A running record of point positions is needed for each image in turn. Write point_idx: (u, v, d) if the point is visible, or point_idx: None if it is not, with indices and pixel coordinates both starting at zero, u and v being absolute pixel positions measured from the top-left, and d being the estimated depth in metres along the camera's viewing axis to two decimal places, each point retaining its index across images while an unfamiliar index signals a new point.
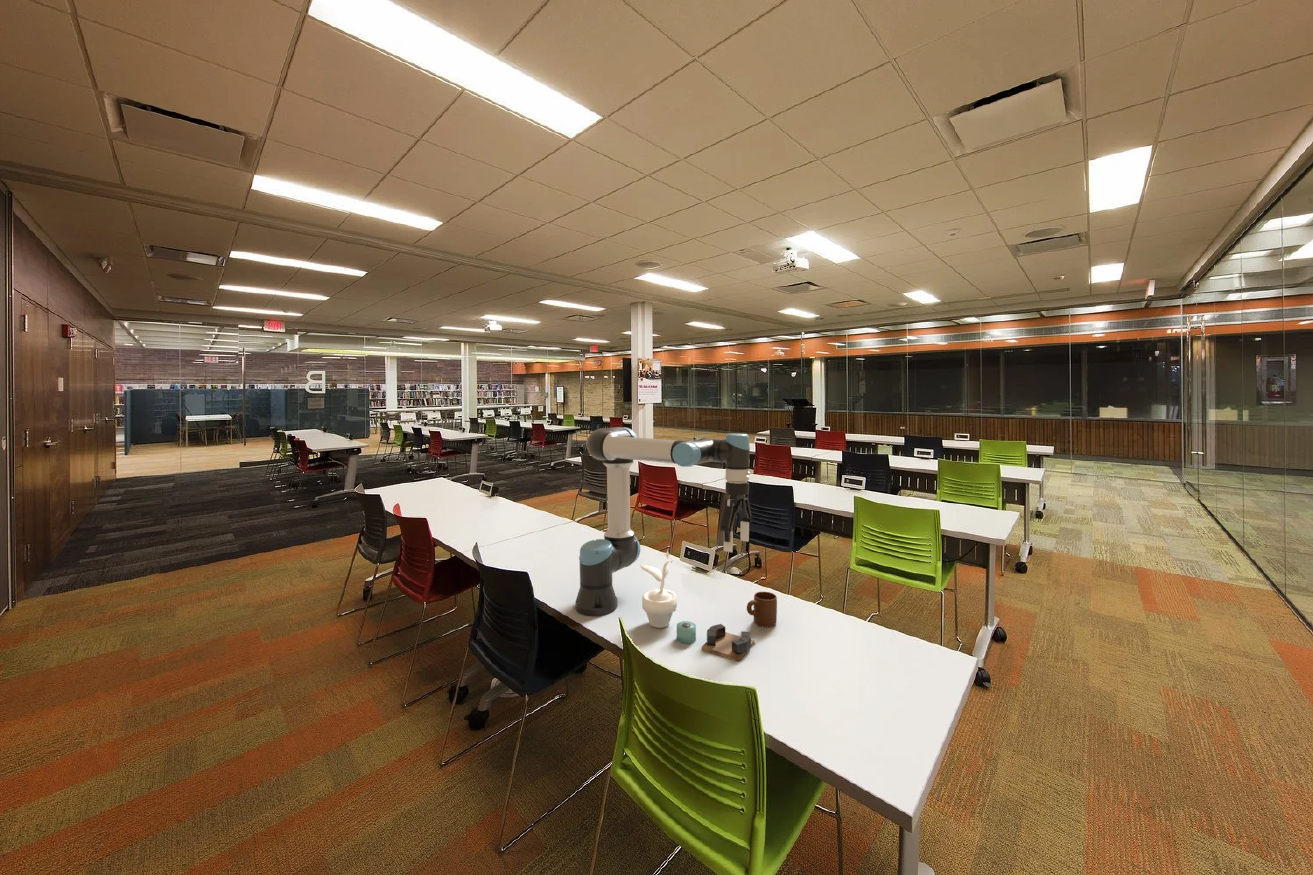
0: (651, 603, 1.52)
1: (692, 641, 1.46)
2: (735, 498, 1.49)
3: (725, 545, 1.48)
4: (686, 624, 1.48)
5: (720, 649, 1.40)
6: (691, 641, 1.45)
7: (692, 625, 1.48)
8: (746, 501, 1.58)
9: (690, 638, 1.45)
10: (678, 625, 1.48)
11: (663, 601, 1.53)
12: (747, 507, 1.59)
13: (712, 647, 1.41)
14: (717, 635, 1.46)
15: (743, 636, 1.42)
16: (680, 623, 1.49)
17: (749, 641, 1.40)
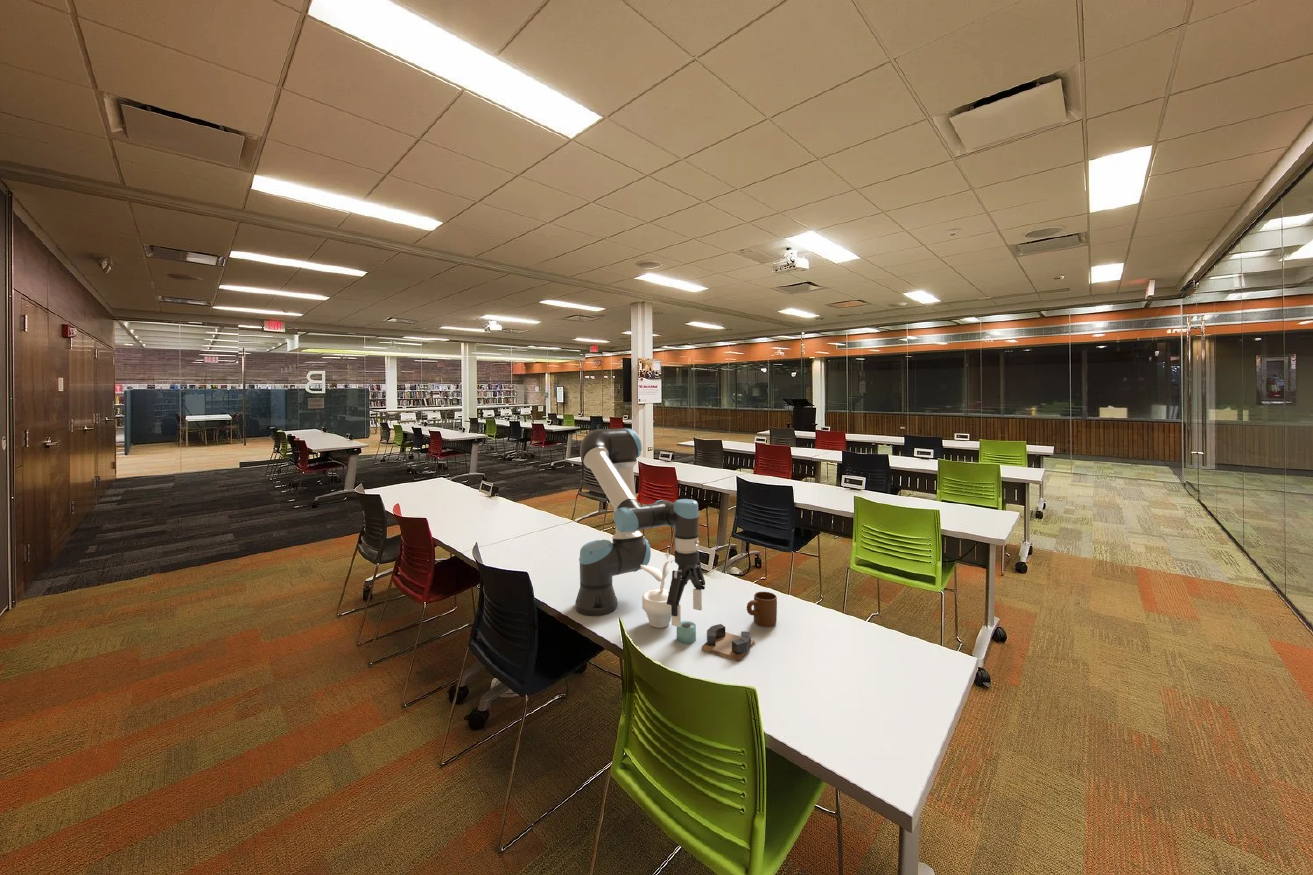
0: (651, 603, 1.52)
1: (692, 641, 1.46)
2: (683, 569, 1.43)
3: (673, 619, 1.41)
4: (686, 624, 1.48)
5: (720, 649, 1.40)
6: (691, 641, 1.45)
7: (692, 625, 1.48)
8: (698, 568, 1.51)
9: (690, 638, 1.45)
10: None
11: (663, 601, 1.53)
12: (699, 574, 1.52)
13: (712, 647, 1.41)
14: (717, 635, 1.46)
15: (743, 636, 1.42)
16: None
17: (749, 641, 1.40)
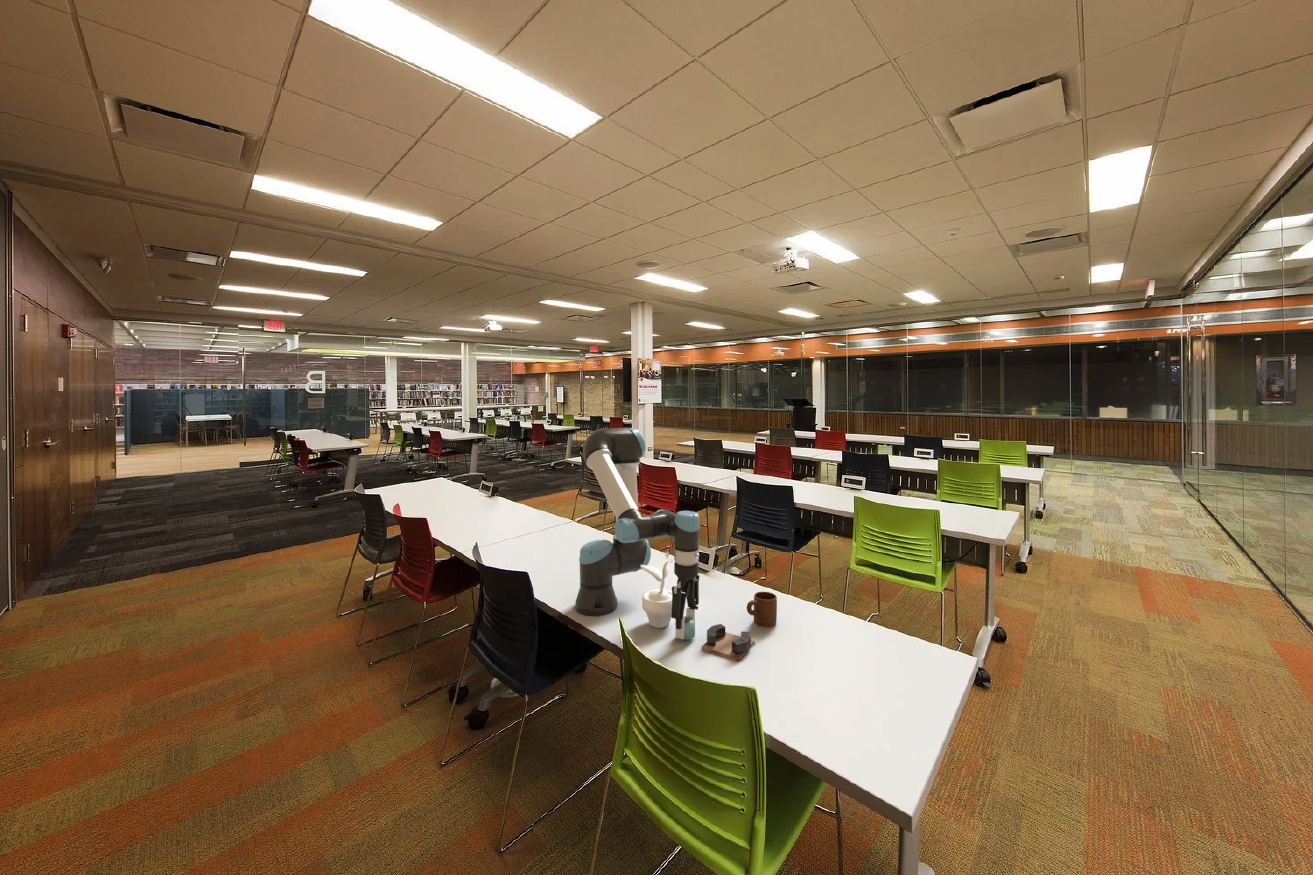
0: (651, 603, 1.52)
1: (691, 636, 1.46)
2: (682, 582, 1.43)
3: (677, 631, 1.45)
4: (685, 619, 1.48)
5: (720, 649, 1.40)
6: (691, 636, 1.46)
7: (691, 620, 1.48)
8: (696, 583, 1.51)
9: (689, 634, 1.45)
10: None
11: (663, 601, 1.53)
12: (695, 590, 1.51)
13: (712, 647, 1.41)
14: (717, 635, 1.46)
15: (743, 636, 1.42)
16: None
17: (749, 641, 1.40)
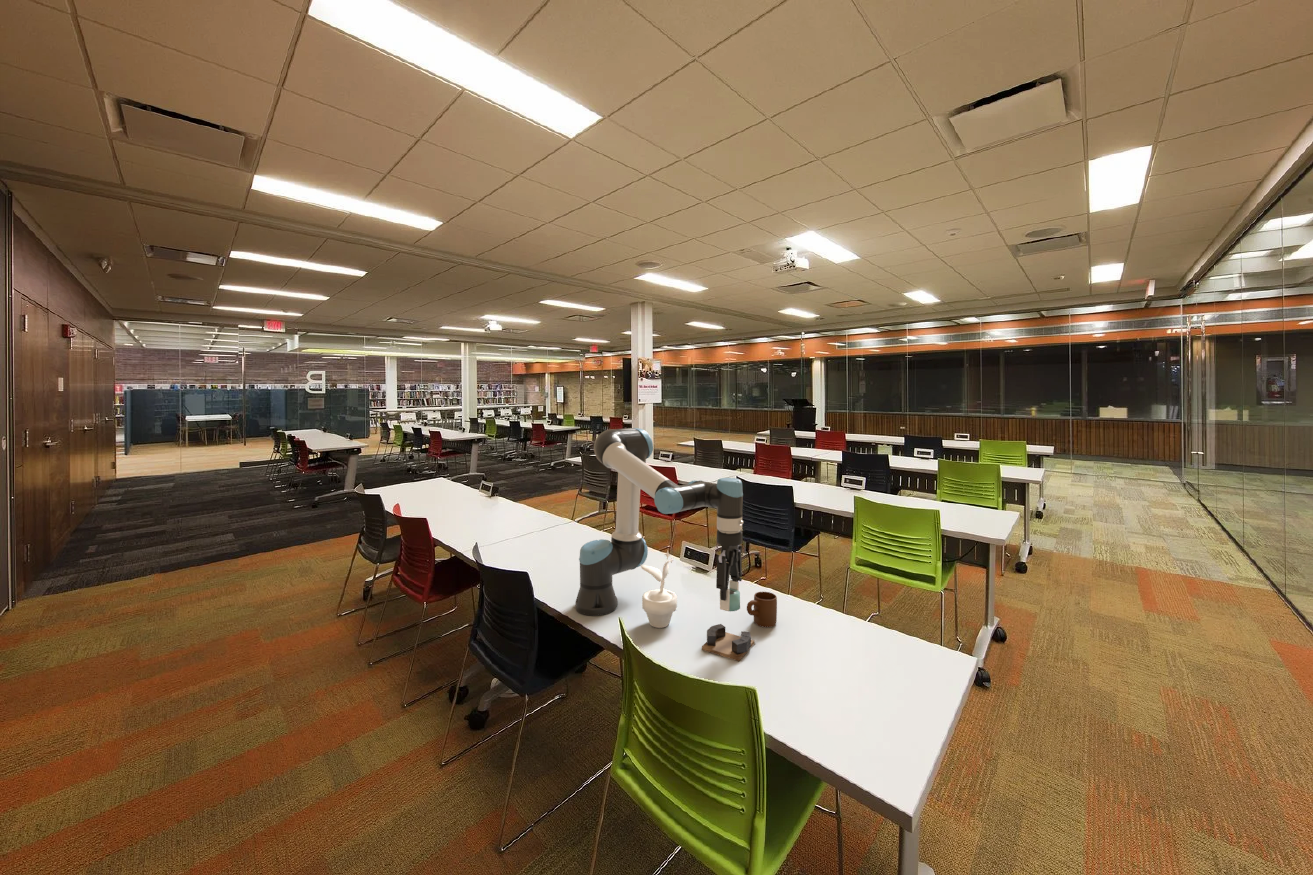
0: (651, 603, 1.52)
1: (737, 608, 1.40)
2: (727, 550, 1.37)
3: (721, 603, 1.40)
4: None
5: (720, 649, 1.40)
6: (736, 608, 1.40)
7: (736, 592, 1.42)
8: (738, 554, 1.45)
9: (734, 605, 1.39)
10: None
11: (663, 601, 1.53)
12: (738, 561, 1.46)
13: (712, 647, 1.41)
14: (717, 635, 1.46)
15: (743, 636, 1.42)
16: None
17: (749, 641, 1.40)
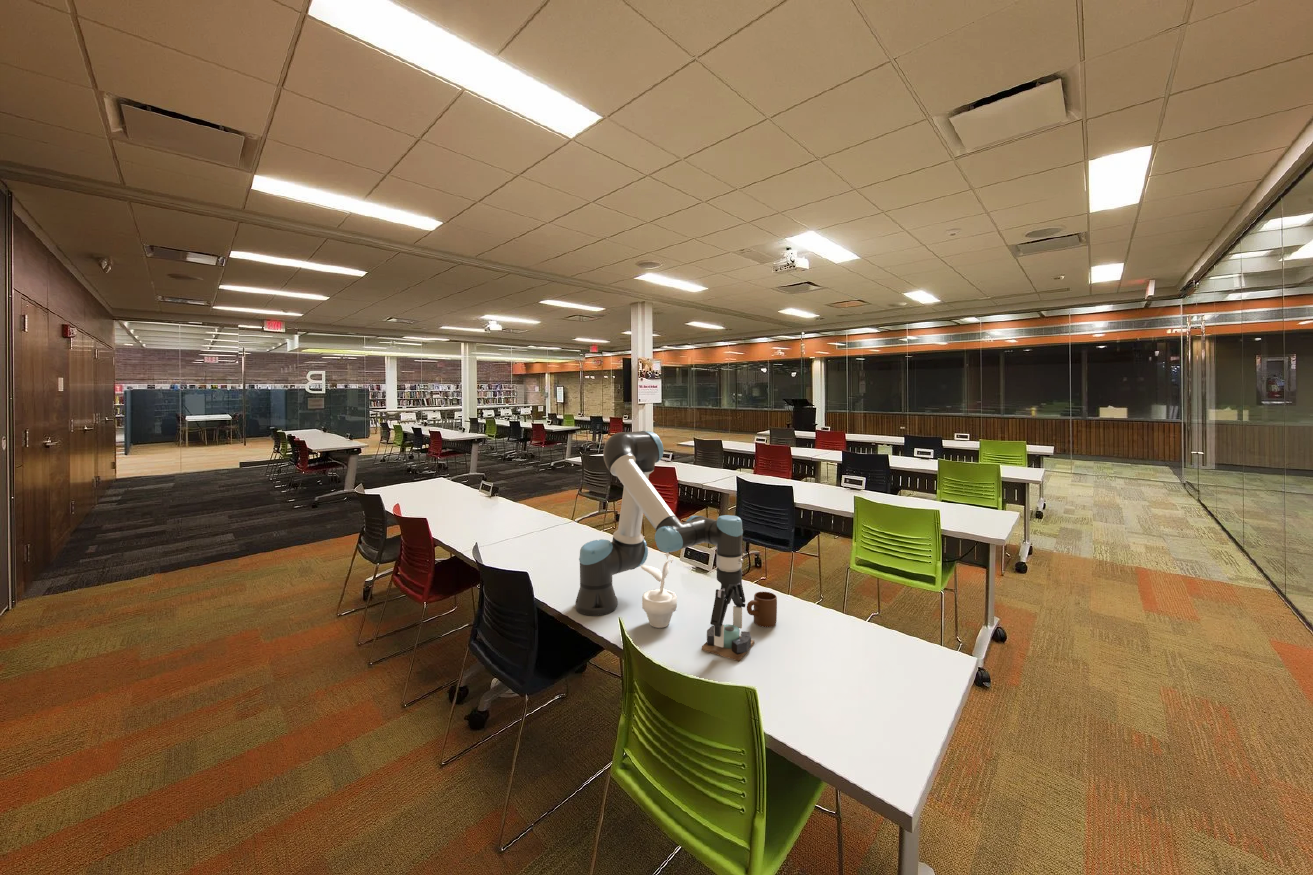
0: (651, 603, 1.52)
1: None
2: (727, 588, 1.39)
3: (715, 639, 1.37)
4: (729, 628, 1.43)
5: (720, 649, 1.40)
6: None
7: (735, 629, 1.43)
8: (739, 586, 1.47)
9: None
10: None
11: (663, 601, 1.53)
12: (740, 592, 1.48)
13: (712, 647, 1.41)
14: None
15: (743, 636, 1.42)
16: None
17: (749, 641, 1.40)
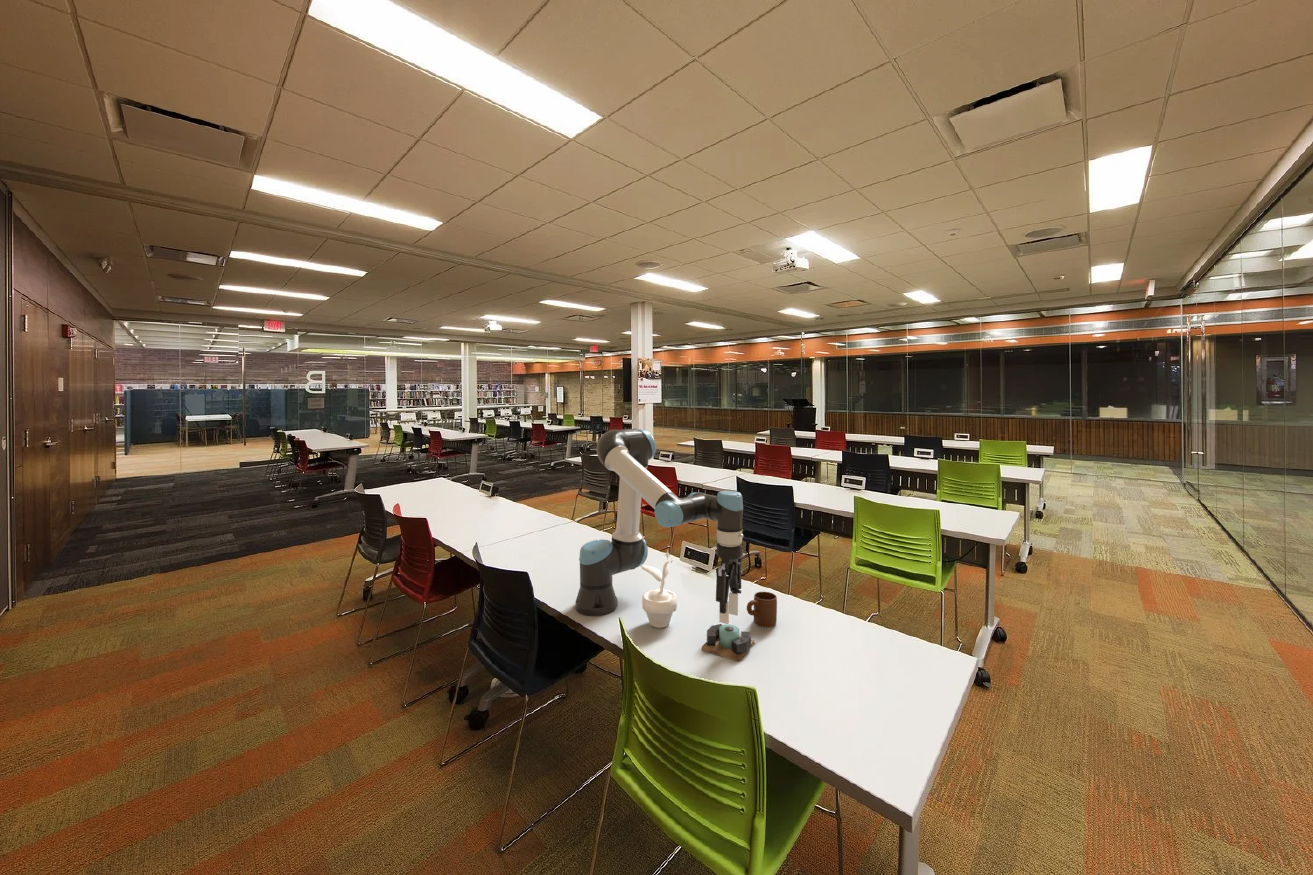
0: (651, 603, 1.52)
1: None
2: (726, 564, 1.38)
3: (721, 616, 1.40)
4: (729, 628, 1.43)
5: (720, 649, 1.40)
6: None
7: (735, 629, 1.43)
8: (738, 566, 1.46)
9: None
10: (721, 629, 1.43)
11: (663, 601, 1.53)
12: (738, 574, 1.46)
13: (712, 647, 1.41)
14: (717, 635, 1.46)
15: (743, 636, 1.42)
16: (722, 627, 1.44)
17: (749, 641, 1.40)
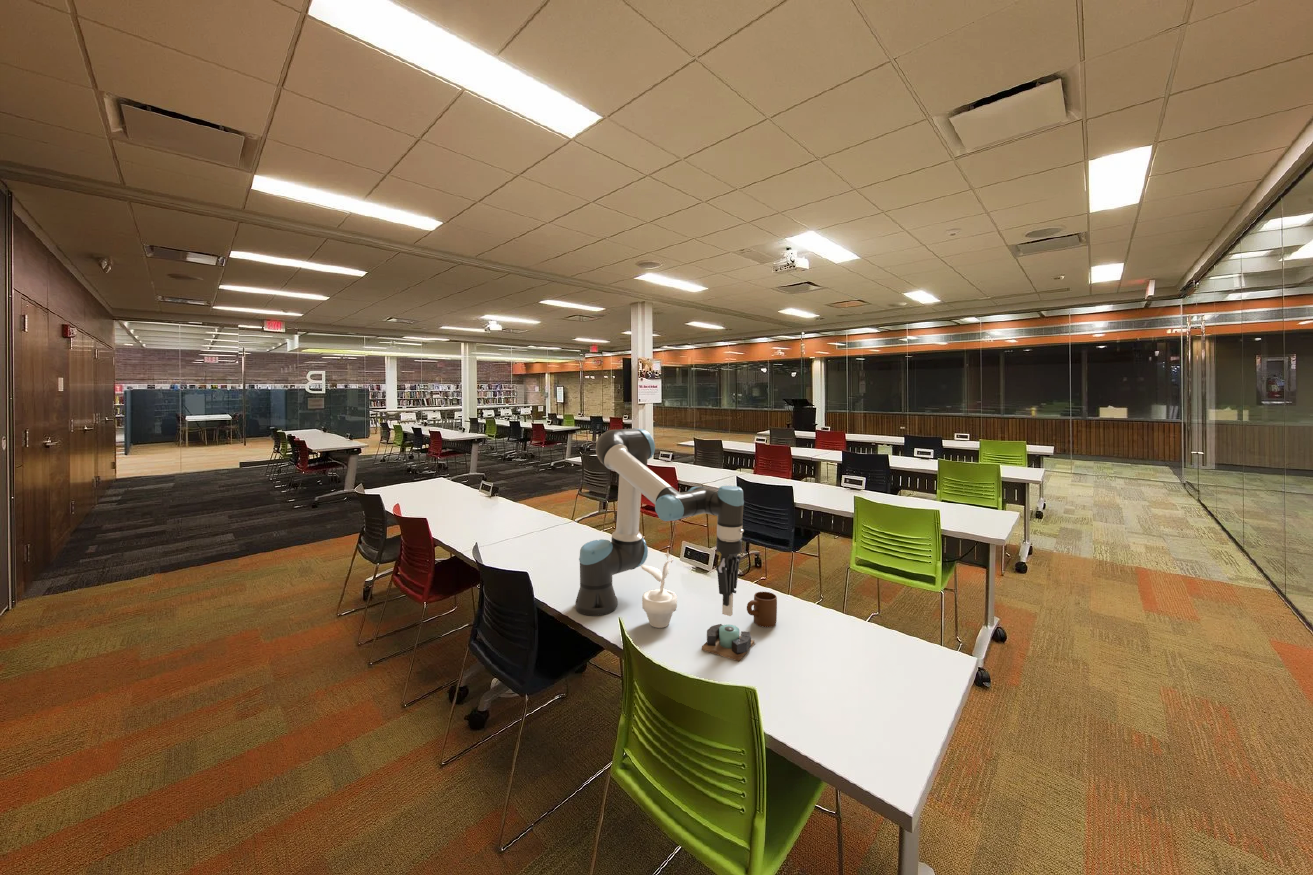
0: (651, 603, 1.52)
1: None
2: (726, 560, 1.38)
3: (724, 608, 1.43)
4: (729, 628, 1.43)
5: (720, 649, 1.40)
6: None
7: (735, 629, 1.43)
8: (736, 563, 1.45)
9: None
10: (721, 629, 1.43)
11: (663, 601, 1.53)
12: (735, 572, 1.45)
13: (712, 647, 1.41)
14: (717, 635, 1.46)
15: (743, 636, 1.42)
16: (722, 627, 1.44)
17: (749, 641, 1.40)
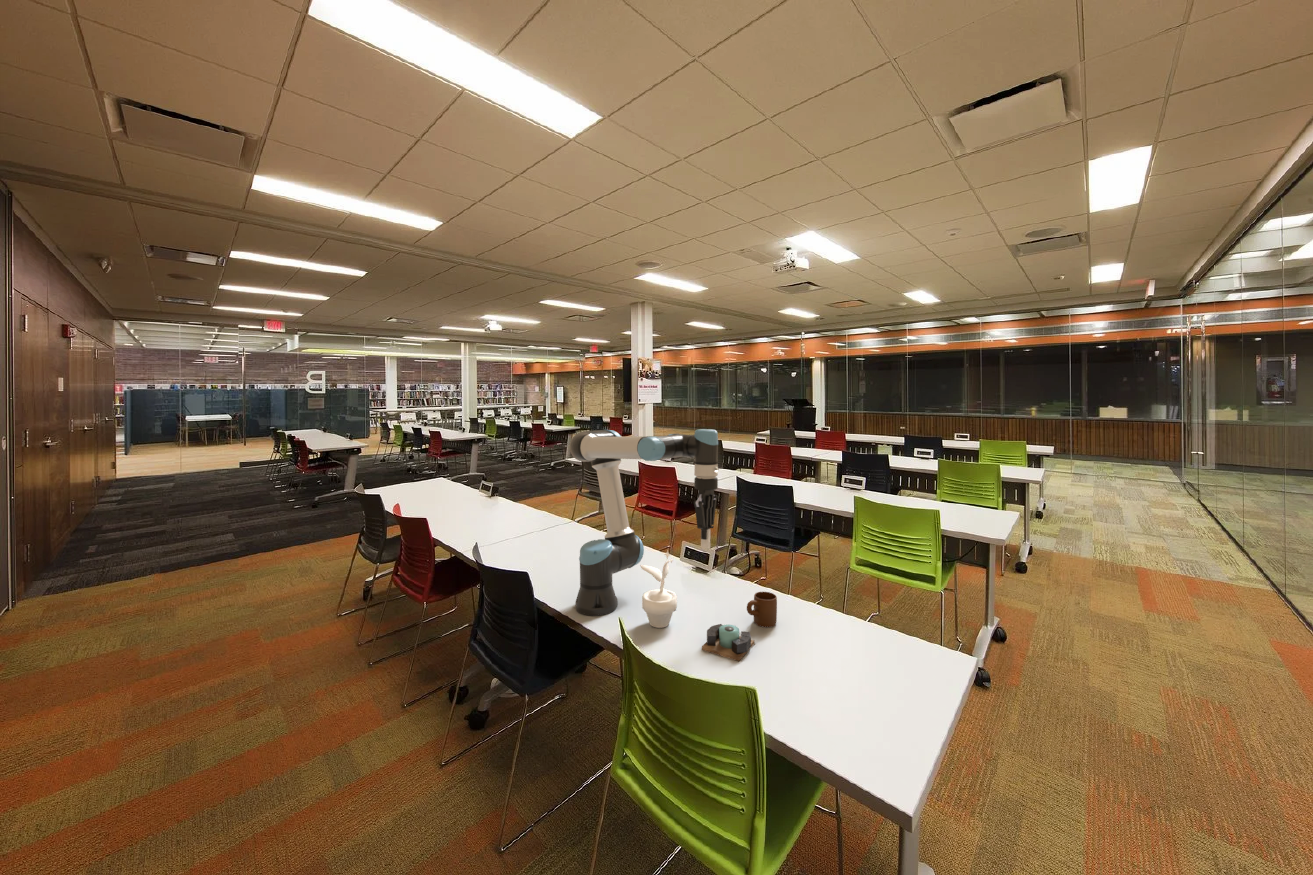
0: (651, 603, 1.52)
1: None
2: (702, 495, 1.50)
3: (702, 542, 1.54)
4: (729, 628, 1.43)
5: (720, 649, 1.40)
6: None
7: (735, 629, 1.43)
8: (713, 502, 1.57)
9: None
10: (721, 629, 1.43)
11: (663, 601, 1.53)
12: (712, 509, 1.56)
13: (712, 647, 1.41)
14: (717, 635, 1.46)
15: (743, 636, 1.42)
16: (722, 627, 1.44)
17: (749, 641, 1.40)
